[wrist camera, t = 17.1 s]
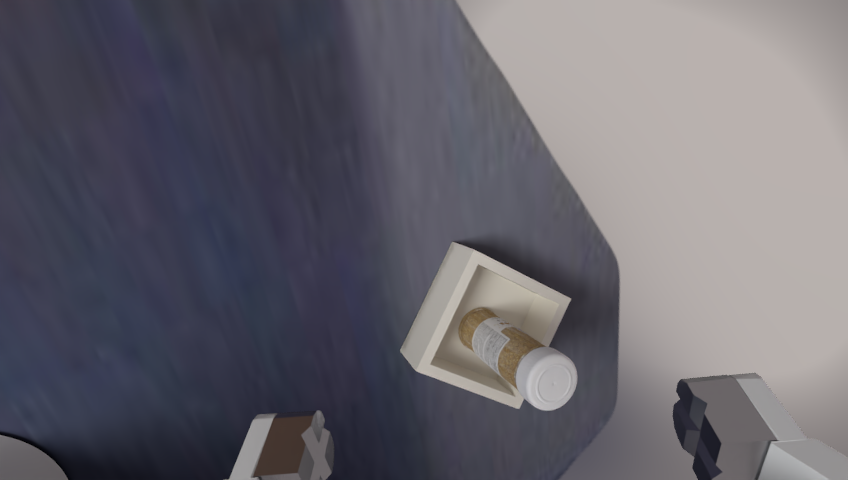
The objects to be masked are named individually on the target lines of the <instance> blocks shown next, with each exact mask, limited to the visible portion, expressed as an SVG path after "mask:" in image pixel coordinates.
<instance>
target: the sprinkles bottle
mask: <svg viewBox="0 0 848 480" xmlns="http://www.w3.org/2000/svg"><path fill="white" fill-rule="evenodd" d="M458 334H459V338H460V340H461V342H462V344H463V345H464V346H465V347H466V348H468V349H470V350H472V351H473V352H474V353H475V354H476V355H477V356H478V357H479V358H480V359H481V360H482V361H483V362H485V363H486V364H487V365H488V366H489V367H490V368H491V369H493V370H494V371H495V372H496V373H497V374H498V375H500V376H501V377H502V378H503V379H504V380H506V381H508V382H509V383H510V384H512V385H513V386H514V387H515V388H516V389H517V390H518V391H519V393H520V394H521V396H522V397H523V398H524V399H526V400H527V401H528V402H529V403H530V404H532V405H533V406H534V407H536V408H538V409H540V410H544V411H550V410H555V409H557V408H560V407H561V406H563V405H564V404H565V403H566V402H567V401H568V400H569V399H570V398H571V396H572V395H573V393H574V391H575V388H576V385H577V370H576V367H575V365H574V363H573V362H572V361H571V360H570V359H569V358H568V357H567V356H565V355H564V354H562V353H561V352H559V351H557V350H556V349H553V348H551V347H546V346H545V345H543V344H541V343H540V342H538V341H537V340H535V339H534V338H532V337H531V336H529V335H528V334H527V333H525V332H523V331H522V330H520V329H519V328H517V327H515V326H514V325H512V324H511V323H509V322H507V321H506V320H504V319H502V318H500V317H498V316H496V315H495V314H494V312H492V311H491V310H489V309H486V308H477V309H473V310H471V311H470V312H468V313H467V314H466V315H465V316H464V317H463V318H462V320H461V323H460V325H459V332H458Z"/></svg>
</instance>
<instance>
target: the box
mask: <svg viewBox="0 0 848 480" xmlns="http://www.w3.org/2000/svg"><path fill="white" fill-rule="evenodd" d="M570 301H571V298H569V297H567V296H565V295H563V294H561V293H559V292H557V291H555V290H553V289H551V288H549V287H547V286H545V285H543V284H541V283H539V282H537V281H535V280H533V279H531V278H529V277H527V276H525V275H523V274H521V273H519V272H518V271H516V270H514V269H512V268H510V267H508V266H506V265H504V264H502V263H500V262H498V261H496V260H494V259H492V258H490V257H488V256H486V255H484V254H482V253H480V252H478V251H476V250H474V249H471V248H469V247H466V246H463V245H460V244H458V243H455V242H452V243H451V245H450V248H449V250H448V252H447V254H446V256H445V258H444V260H443V262H442V264H441V266H440V268H439V270H438V272H437V275H436V277H435V279H434V281H433V283H432V285H431V287H430V289H429V291H428V293H427V295H426V297H425V299H424V302H423V304H422V306H421V308H420V310H419V312H418V314H417V316H416V318H415V320H414V322H413V324H412V327H411V329H410V331H409V333H408V335H407V337H406V339H405V341H404V343H403V345H402V347H401V349H400V352H401V353H402V354H403V356H404V357H405V358H406V359H407V361H408V362H409V363H410V364H411V366H412V367H413V368H414V369H415V371H417V372H419V373H422V374H425V375H428V376H430V377H433V378H436V379H438V380H441V381H444V382H447V383H449V384H452V385H455V386H457V387H460V388H463V389H466V390H468V391H471V392H474V393H476V394H479V395H482V396H484V397H487V398H490V399H493V400H495V401H498V402H501V403H503V404H506V405H509V406H512V407H514V408H517V409H519V408H520V406H521V404H522V402H523V400H524V398H523V397H522V396H521V394H520V393H519V391H518V390H517V389H516V388H515V387H514V386H513V385H512V384H510V383H509V382H508V381H506V380H504V379H503V378H502V377H501V376H500V375H498V374H497V373H496V372H495V371H494V370H493V369H491V368H490V367H489V366H488V365H487V364H486V363H485V362H483V361H482V360H481V359H480V358H479V357H478V356H477V355H476V354H475V353H474V352H473V351H472V350H470V349H468V348H466V347H465V346H464V345H463V344H462V342H461V340H460V338H459V334H458V332H459V325H460V323H461V320H462V318H463V317H464V316H465V315H466V314H467V313H468V312H470V311H471V310H473V309H477V308H486V309H489V310H491V311H492V312H494V314H495V315H496V316H498V317H500V318H502V319H504V320H506V321H507V322H509V323H511V324H512V325H514V326H515V327H517V328H519V329H520V330H522V331H523V332H525V333H527V334H528V335H529V336H531V337H532V338H534V339H535V340H537V341H538V342H540V343H541V344H543V345H545V346H546V347H549V345H550V343H551V341H552V339H553V336H554V334H555V332H556V330H557V328H558V326H559V324H560V322H561V320H562V317H563V315H564V313H565V311H566V309H567V307H568V305H569V303H570Z"/></svg>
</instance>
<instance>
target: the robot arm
mask: <svg viewBox="0 0 848 480" xmlns="http://www.w3.org/2000/svg"><path fill="white" fill-rule="evenodd" d="M676 392H677V393H678V395H679V397H680V400H679V401H678V402H677V403H675V404H674V409H673V420H674V427H675V430H676V433H677V436H678V439H679V441H680V443H681V445H682V448H683V449H684V450H686V451H687V452H688V453H690V454H691V455H692V456H694V457H695V458H694V463H693V470H694V472H695V474H696V476H697V478H698V480H848V457H846V456H845V455H843V454H841V453H839V452H838V451H836V450H834V449H833V448H831V447H829V446H828V445H826V444H824V443H822V442H821V441H819V440H818V439H808V438H807V437H806V435H805V434H804V433H803V432H802V430H801V429H800V428H799V426H798V425H797V424H796V422H795V421H794V420H793V419H792V417H791V416H790V414H789V413H788V412H787V411H786V409H785V408H784V407H783V405H782V404H781V403H780V401H779V400H778V399H777V397H776V396H775V395H774V394H773V392H772V391H771V390H770V388H769V387H768V386H767V384H766V383H765V382H764V381H763V379H762V378H761V377H760V376H759V375H757V374H756V373H749V374H737V375H729V376H728V375H721V376H710V377H700V378H690V379H681V380H680V381H679V382H678V385H677V390H676ZM324 422H325V419H324V417H323V415H322V413H321V411H305V412H287V413H272V414H258V415H257V416H256V417H255V419H254V420H253V421H252V424H251V426H250V428H249V431H248V433H247V436H246V438H245V441H244V443H243V446H242V448H241V451H240V453H239V456H238V458H237V461H236V463H235V466H234V468H233V471H232V473H231V476H230V478H229V479H225V480H326V479H327V478H328V476H329V475H330V474H331V473H332V468H333V463H334V444H333V439H332V436H331V434H330V432H329V431H328V430H326V429H325V428H323V426H324ZM0 480H68V478H67V477H66V475H65V473H64V472H63V470H62V469H61V468H60V467H59V466H58V464H57V463H56V462H55V461H54V460H53V459H51V458H50V457H49V456H48V455H46V454H45V453H44V452H42V451H41V450H39V449H37V448H36V447H34V446H32V445H30V444H28V443H25V442H23V441H20V440H17V439H14V438H11V437H7V436H2V435H0Z"/></svg>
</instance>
